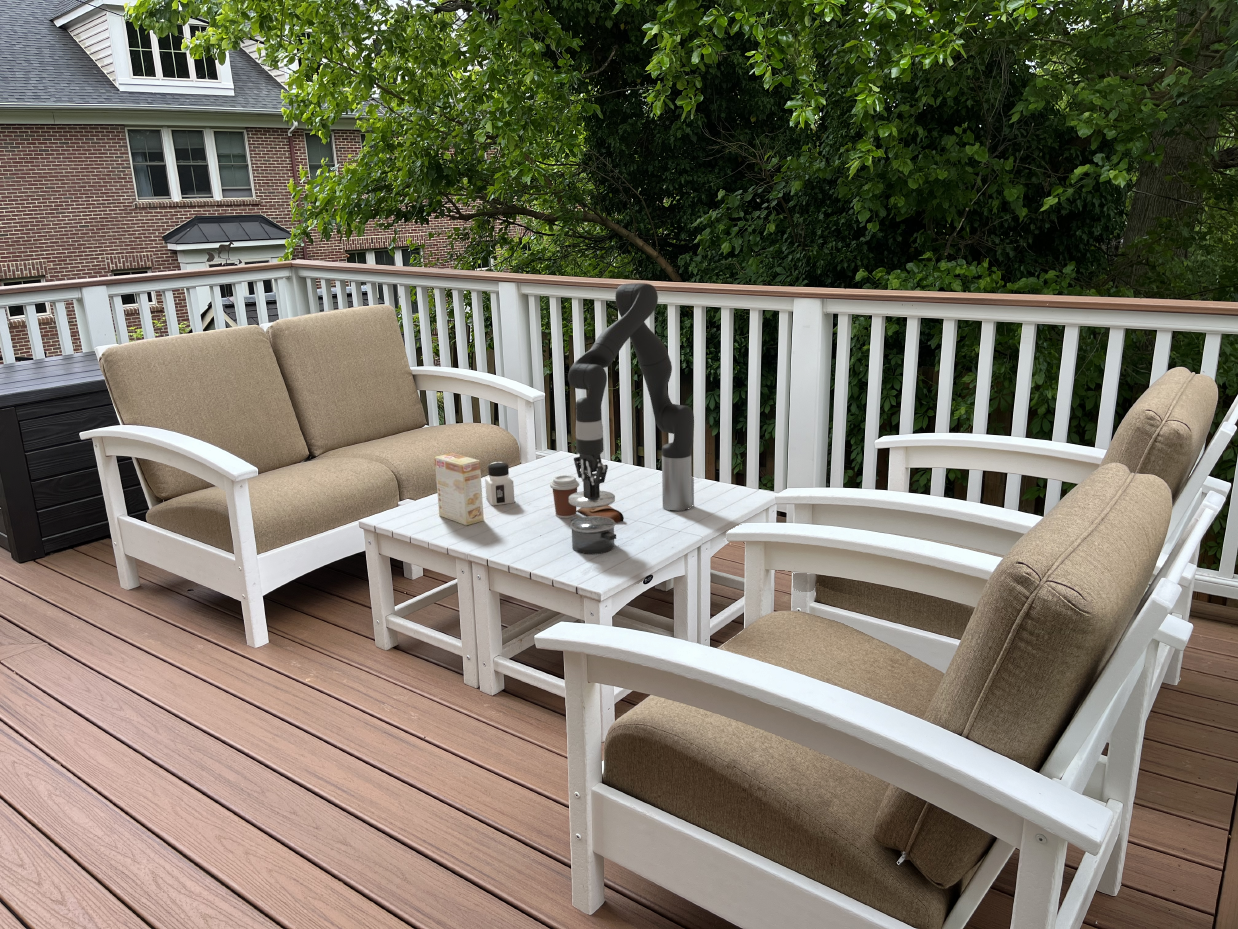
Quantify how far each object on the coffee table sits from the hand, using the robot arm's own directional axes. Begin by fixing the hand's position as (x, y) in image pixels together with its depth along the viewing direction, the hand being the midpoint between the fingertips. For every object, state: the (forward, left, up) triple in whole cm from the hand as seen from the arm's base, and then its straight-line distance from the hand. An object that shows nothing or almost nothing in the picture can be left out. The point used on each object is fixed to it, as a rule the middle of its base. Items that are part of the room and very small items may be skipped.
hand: (591, 495), depth 266 cm
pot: (0, 0, -15) cm, 15 cm away
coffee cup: (-10, -29, -16) cm, 34 cm away
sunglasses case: (-17, -21, -16) cm, 32 cm away
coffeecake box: (+17, -48, -16) cm, 53 cm away
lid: (0, 0, -2) cm, 2 cm away
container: (-1, -55, -16) cm, 57 cm away
